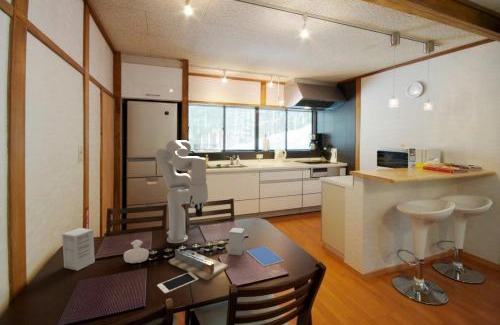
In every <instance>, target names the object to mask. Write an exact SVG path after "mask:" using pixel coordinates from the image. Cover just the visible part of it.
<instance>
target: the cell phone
mask: <svg viewBox="0 0 500 325" xmlns="http://www.w3.org/2000/svg"><path fill="white" fill-rule="evenodd" d="M199 279H200V278H199V276H197V275H195V274H193V273H191V272H187V273H183V274H181V275H178V276H175V277H174V278H171V279H169V280H166V281H163V282H160V283H158V284H157V285H156V286H157V287H158V288H159V289H160V290H161V291H162V292H163V293H164V294H168V293H170V292H172V291H175V290H177V289H179V288H182V287H184V286H186V285H188V284H191V283H193V282H196V281H198V280H199Z"/></svg>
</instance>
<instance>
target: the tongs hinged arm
mask: <svg viewBox="0 0 500 325" xmlns="http://www.w3.org/2000/svg"><path fill="white" fill-rule="evenodd" d="M184 251H185V250H180V252H182V253H184V254H187V255H189V256H192V257H194V258H197V259H199V260H202V261H204V262H208V263H210V264H212V273H213V272H214V263H213V262H210V261H207V260H205V259H202V258H200V257H197V256H195V255H192V254H189V253H187V252H184Z"/></svg>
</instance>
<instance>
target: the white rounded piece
mask: <svg viewBox="0 0 500 325" xmlns="http://www.w3.org/2000/svg"><path fill="white" fill-rule="evenodd" d="M143 242H144V241H142V240H140V239H135V240H133V241H132V242H130V245H131V246H132V247H133V248H131V249H129V250H126V251H124V253H123V260H124V262H125V263H130V264H137V263H142V262H145V261H147V260H148V258H149V256H150V255H149V254H150V251H149V250H148V249H147V248H141V246H142V244H143Z"/></svg>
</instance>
